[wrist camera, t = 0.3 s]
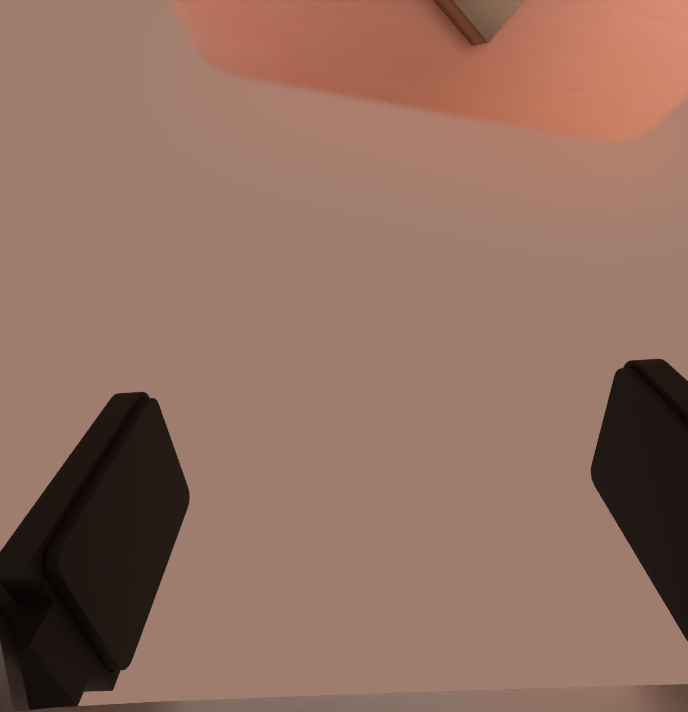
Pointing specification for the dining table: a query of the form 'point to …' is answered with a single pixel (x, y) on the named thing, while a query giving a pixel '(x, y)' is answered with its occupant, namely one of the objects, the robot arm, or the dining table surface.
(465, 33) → the brown flat wooden block
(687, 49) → the dining table surface
